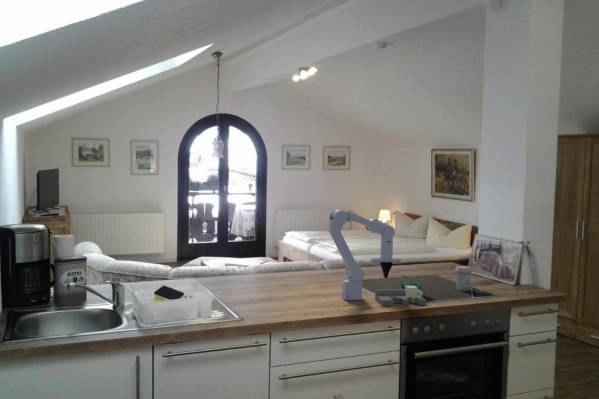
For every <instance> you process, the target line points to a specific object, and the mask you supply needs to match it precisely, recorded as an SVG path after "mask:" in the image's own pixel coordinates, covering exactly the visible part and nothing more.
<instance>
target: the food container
mask: <svg viewBox="0 0 599 399" xmlns="http://www.w3.org/2000/svg"><path fill="white" fill-rule="evenodd" d="M399 279H400V283H401V289H405V286H415V287H417V288H418V290H420V291H421V292H422V289H423V288H422V287H423V281H424V280H425V277H424V275H423V274H421V275H408V276H407V275H402V274H400V276H399Z"/></svg>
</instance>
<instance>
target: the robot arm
mask: <svg viewBox="0 0 599 399" xmlns="http://www.w3.org/2000/svg"><path fill="white" fill-rule="evenodd" d="M329 215H330V216H329V229H328V232H329V235H330V236H331V238H332V240H333V242H334V244H335V246H336V249H337V250H338V253H339V254H340V256H341V258H342V260H343V262H344V265H345V266H344V267H345V268H346V269H345V270H346V275H347V279H344V280H343V281H342V284H341V286H342V288H341V291H342V292H341V297H342V298H343V299H344V301H364V300H365V298H364V297H363V278H364V277H365V272H364V270H363V269H362V268H361V267H360V266H359V264H358V263H357V261H356V260H355V258H354V256H353V254H352V252H351V250H350V248H349V246H348V244H347V242H346V240H345V238H344V236H343V234H342V232H341V231H342V230H343V227H344V225H345V224H346V223H347V222H348V223H350V222H355V223H358V224H360V225H363V226H366V228H367V230H368V231H370V232H373V233H375V234H378V235H380V236H381V238H380V257H378V258H377V257H375V258H370V262H371V263H372V264H378V263H379V265H380V267H381V270H382V273H383V278H384V279H388V278H389V274H390V271H391V269H392V267H393V264H402V259H401V258H395V257H393V250H394V249H393V248H394V246H393V245H394V236H395V235H396V231H395V228H394V227H393V226H392V225H388V224H387V223H386V222H382V221H378V220H379V219H377V218H371V219H367V218H365V217H363V216H360V215H358V214H356V213H354V212H351V211H346V210H342V209H339V208H336V209H333V210H332V212H331V213H330V214H329Z"/></svg>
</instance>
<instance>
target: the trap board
mask: <svg viewBox="0 0 599 399" xmlns="http://www.w3.org/2000/svg"><path fill="white" fill-rule="evenodd" d="M374 292H375V293H374V299H375V301H376V302H377V303H378V304H380V306H383V307H386V306H387V307H388V306H389V307H390V306H395V305H394V304H401V305H403V306H409V304H416V305H418V306H426V304H427V300H426V299H425V298H424V297H423V296H424V292H423V291H422V290H421V291H420V290H417V297H407V296H405V289H402V288H399V289H397V288H395V289H393V288H392V289H390V288H389V289H387V288H386V289H375V291H374Z"/></svg>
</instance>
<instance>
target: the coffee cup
mask: <svg viewBox="0 0 599 399" xmlns="http://www.w3.org/2000/svg"><path fill="white" fill-rule="evenodd" d="M454 271H455V278H456V280H455V282H456V289H457V291H462V292H467V291H469V288H470V283H471V277H472V276H471V275H472V272H473V270H472V267H471V266H467V265H457V266H455V269H454Z"/></svg>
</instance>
